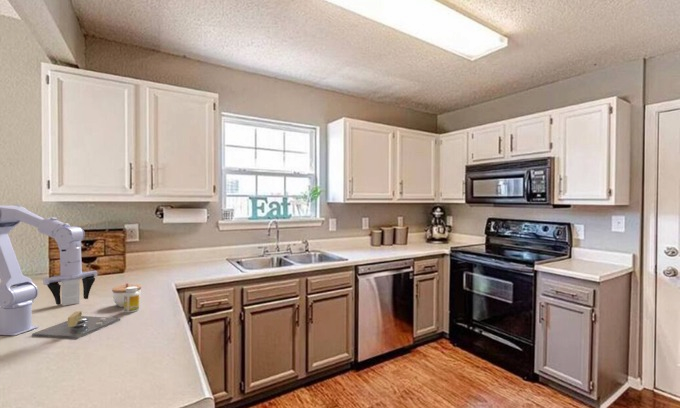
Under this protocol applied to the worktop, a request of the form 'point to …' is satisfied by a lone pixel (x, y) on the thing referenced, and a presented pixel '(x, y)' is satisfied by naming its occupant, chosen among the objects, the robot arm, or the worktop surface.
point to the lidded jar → (121, 290)
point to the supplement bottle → (131, 300)
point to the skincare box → (70, 292)
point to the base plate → (76, 328)
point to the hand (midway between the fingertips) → (72, 301)
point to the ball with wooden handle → (76, 319)
